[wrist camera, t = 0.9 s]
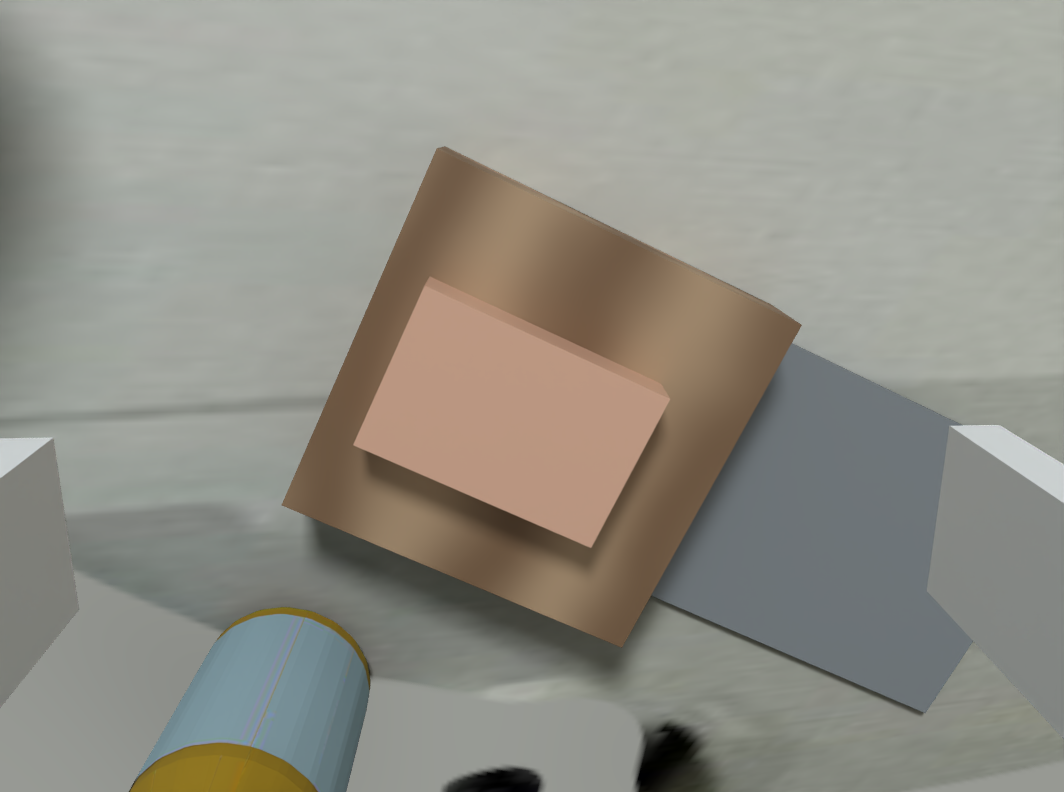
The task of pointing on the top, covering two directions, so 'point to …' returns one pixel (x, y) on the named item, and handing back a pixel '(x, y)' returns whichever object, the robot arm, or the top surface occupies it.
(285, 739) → the bottle
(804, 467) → the mat
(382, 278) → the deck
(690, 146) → the top surface
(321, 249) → the top surface
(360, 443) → the tile
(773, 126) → the top surface
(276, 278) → the top surface
